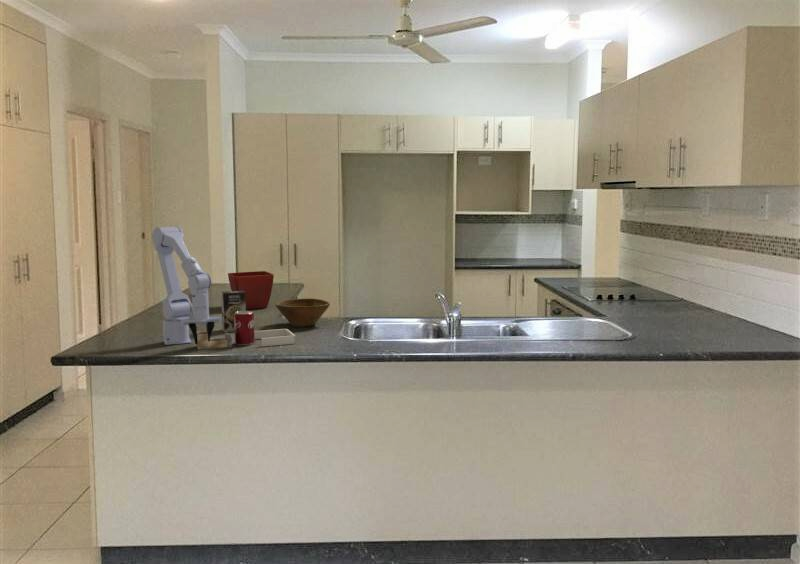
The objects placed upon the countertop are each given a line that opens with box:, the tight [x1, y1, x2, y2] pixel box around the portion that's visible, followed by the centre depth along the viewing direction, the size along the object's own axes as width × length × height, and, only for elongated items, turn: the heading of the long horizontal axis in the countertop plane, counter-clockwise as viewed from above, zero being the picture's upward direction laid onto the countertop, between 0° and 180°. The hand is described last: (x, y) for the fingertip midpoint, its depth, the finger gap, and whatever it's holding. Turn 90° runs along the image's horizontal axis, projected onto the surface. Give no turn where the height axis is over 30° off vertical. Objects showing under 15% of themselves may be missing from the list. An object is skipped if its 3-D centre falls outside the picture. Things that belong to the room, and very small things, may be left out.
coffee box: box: [220, 290, 247, 333], centre depth 282 cm, size 9×6×16 cm
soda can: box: [234, 310, 256, 346], centre depth 256 cm, size 7×7×12 cm
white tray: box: [254, 328, 297, 347], centre depth 261 cm, size 13×15×3 cm
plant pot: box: [227, 270, 275, 310], centre depth 339 cm, size 19×19×17 cm
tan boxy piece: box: [195, 330, 233, 350], centre depth 253 cm, size 12×9×6 cm
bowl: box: [274, 297, 331, 328], centre depth 292 cm, size 22×23×10 cm
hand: (202, 343), depth 251 cm, fingers closed on tan boxy piece, 4 cm apart
